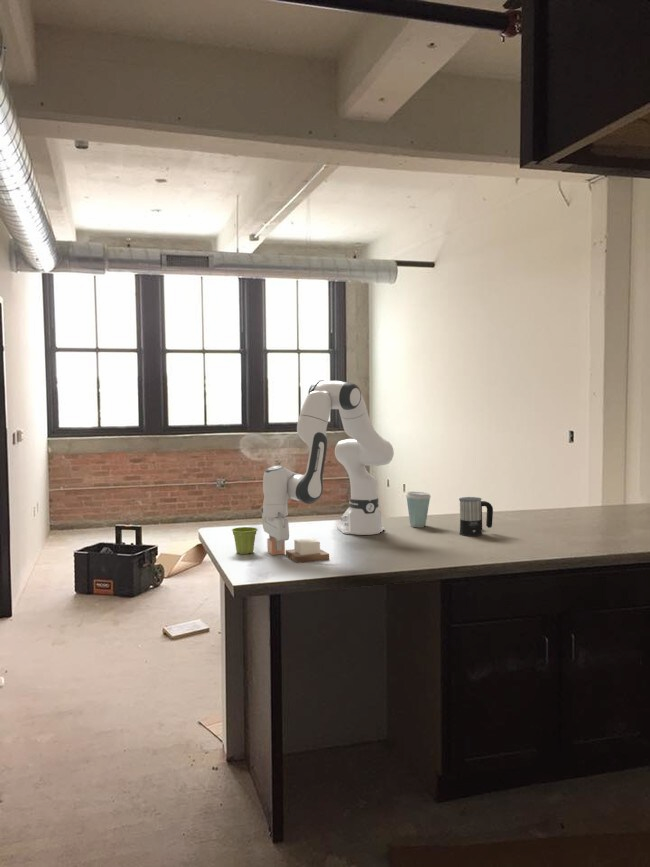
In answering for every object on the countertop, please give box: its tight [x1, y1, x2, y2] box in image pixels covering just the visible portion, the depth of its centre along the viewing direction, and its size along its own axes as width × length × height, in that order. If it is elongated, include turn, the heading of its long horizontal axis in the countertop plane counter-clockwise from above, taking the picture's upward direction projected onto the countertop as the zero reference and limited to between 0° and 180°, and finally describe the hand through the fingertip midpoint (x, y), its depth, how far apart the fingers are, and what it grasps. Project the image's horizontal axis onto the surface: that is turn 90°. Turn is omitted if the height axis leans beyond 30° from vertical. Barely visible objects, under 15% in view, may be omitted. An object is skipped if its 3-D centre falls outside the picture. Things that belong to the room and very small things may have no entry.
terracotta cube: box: [266, 537, 286, 556], centre depth 255 cm, size 5×5×5 cm
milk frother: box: [458, 496, 494, 537], centre depth 290 cm, size 14×16×15 cm
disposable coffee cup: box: [405, 491, 431, 528], centre depth 305 cm, size 11×11×15 cm
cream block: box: [293, 537, 321, 555], centre depth 248 cm, size 7×7×4 cm
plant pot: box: [231, 526, 259, 555], centre depth 257 cm, size 9×9×9 cm
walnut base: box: [285, 548, 330, 564], centre depth 248 cm, size 12×12×2 cm
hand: (276, 548), depth 256 cm, fingers closed on terracotta cube, 5 cm apart
